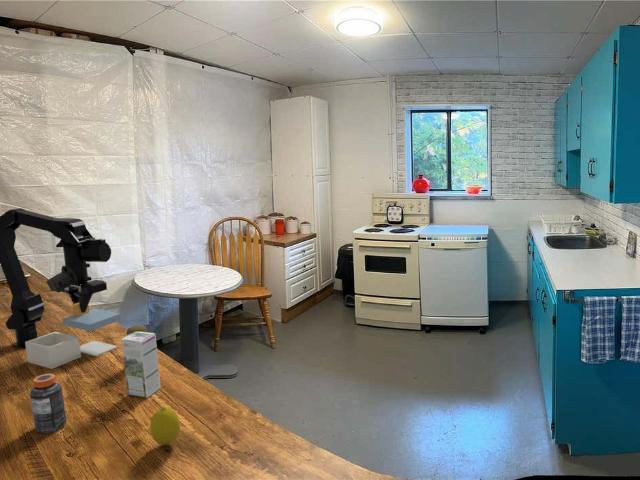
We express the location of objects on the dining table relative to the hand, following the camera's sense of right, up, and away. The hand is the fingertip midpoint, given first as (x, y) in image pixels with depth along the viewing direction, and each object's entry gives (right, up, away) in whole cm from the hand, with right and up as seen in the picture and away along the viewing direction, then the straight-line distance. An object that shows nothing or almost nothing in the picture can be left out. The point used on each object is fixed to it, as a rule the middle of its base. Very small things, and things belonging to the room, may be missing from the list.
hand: (81, 312), depth 150 cm
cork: (+23, -13, -13) cm, 29 cm away
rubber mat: (+4, -11, -1) cm, 12 cm away
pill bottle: (+15, -18, -44) cm, 49 cm away
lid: (+4, -3, -2) cm, 5 cm away
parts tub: (-4, -13, -7) cm, 15 cm away
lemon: (+42, -19, -52) cm, 69 cm away
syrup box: (+29, -15, -29) cm, 44 cm away
